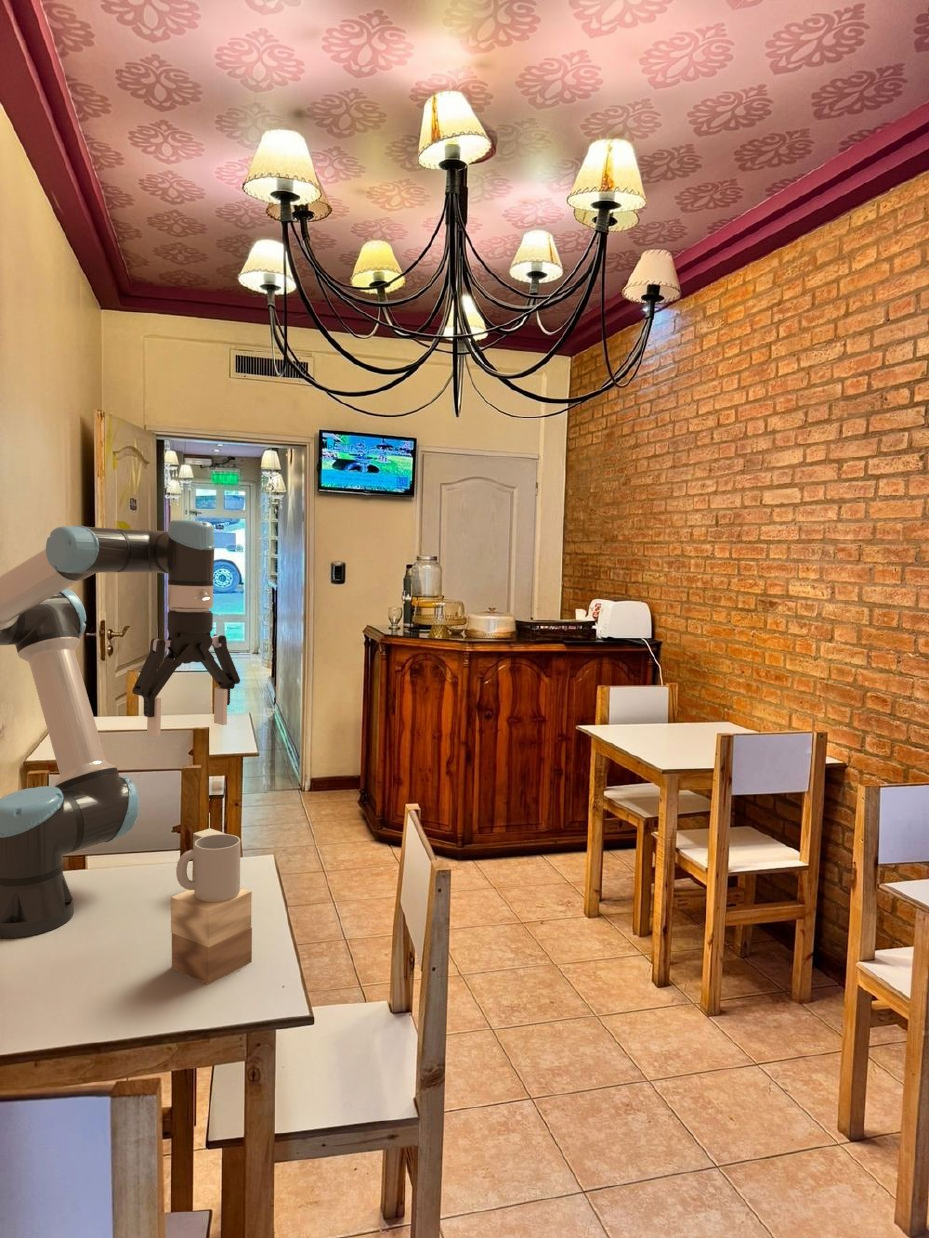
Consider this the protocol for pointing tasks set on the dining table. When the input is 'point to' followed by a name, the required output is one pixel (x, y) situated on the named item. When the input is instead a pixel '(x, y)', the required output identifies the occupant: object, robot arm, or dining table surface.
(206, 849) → the cup
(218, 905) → the beech block
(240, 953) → the walnut block
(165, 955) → the dining table surface
